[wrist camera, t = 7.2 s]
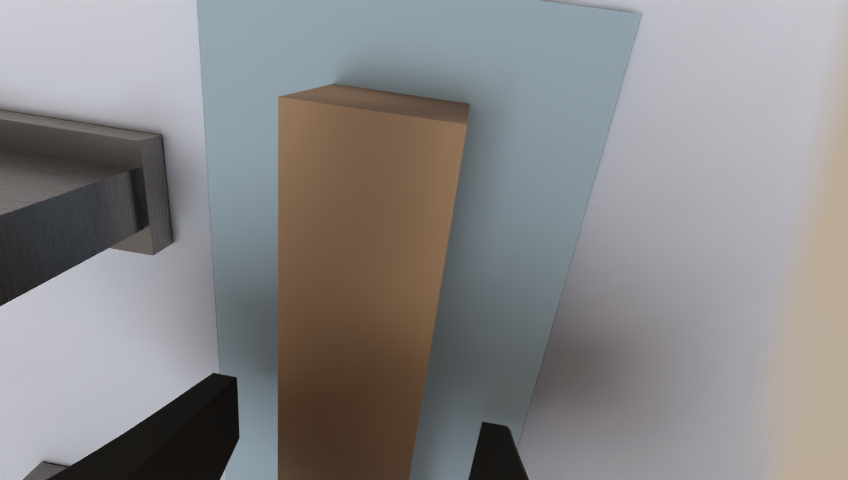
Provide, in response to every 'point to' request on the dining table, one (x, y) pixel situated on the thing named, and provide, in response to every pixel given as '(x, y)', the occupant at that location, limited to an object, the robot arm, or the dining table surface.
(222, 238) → the mat
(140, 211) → the bracket
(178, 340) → the dining table surface
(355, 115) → the rail
